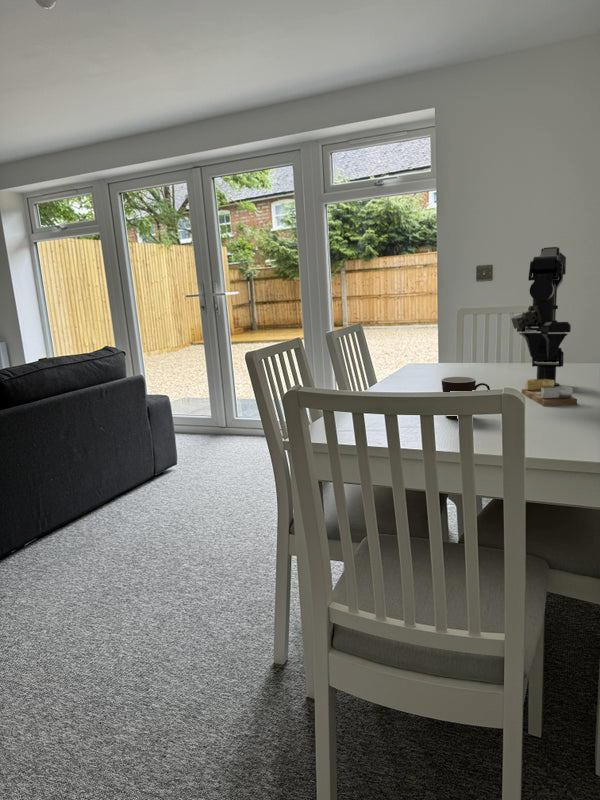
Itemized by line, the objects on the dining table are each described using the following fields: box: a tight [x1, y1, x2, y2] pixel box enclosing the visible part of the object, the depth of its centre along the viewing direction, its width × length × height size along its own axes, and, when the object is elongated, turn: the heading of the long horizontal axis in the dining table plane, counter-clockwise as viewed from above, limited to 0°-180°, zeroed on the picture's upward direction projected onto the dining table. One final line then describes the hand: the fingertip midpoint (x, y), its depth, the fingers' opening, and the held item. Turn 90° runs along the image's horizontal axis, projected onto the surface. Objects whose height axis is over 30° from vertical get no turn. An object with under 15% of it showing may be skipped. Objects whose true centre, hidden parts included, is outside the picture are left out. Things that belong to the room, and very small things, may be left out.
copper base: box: [521, 388, 578, 407], centre depth 165 cm, size 17×9×2 cm, turn 179°
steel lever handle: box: [541, 385, 573, 398], centre depth 159 cm, size 8×4×3 cm, turn 89°
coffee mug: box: [440, 376, 491, 421], centre depth 148 cm, size 12×9×10 cm
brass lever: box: [524, 378, 555, 390], centre depth 170 cm, size 8×4×3 cm, turn 89°
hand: (541, 358), depth 162 cm, fingers open, 9 cm apart
